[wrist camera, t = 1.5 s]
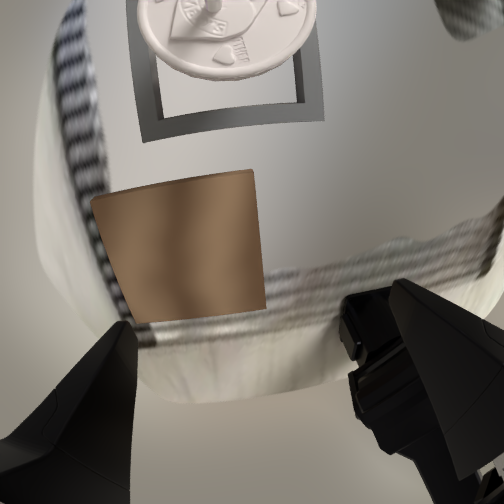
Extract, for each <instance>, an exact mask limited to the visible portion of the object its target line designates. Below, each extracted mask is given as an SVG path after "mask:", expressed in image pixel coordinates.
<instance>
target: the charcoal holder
mask: <svg viewBox="0 0 504 504" xmlns="http://www.w3.org/2000/svg"><path fill="white" fill-rule="evenodd" d="M137 6H138V0H126V12H127V27H128V39H129V51H130V61H131V69H132V77H133V85H134V93H135V100H136V106H137V113H138V118H139V125H140V131H141V136H142V142H143V143H146V142H150V141H155V140H159V139H165V138H170V137H175V136H180V135H185V134H192V133H198V132H204V131H211V130H218V129H224V128H233V127H242V126H251V125H262V124H272V123H287V122H307V121H324V103H323V88H322V75H321V64H320V54H319V44H318V36H317V28H316V20H315V22H314V25H313V28H312V30H311V32H310V34H309V36H308V38H307V39H306V41H305V42H304V43H303V45H302V46H301V47H300V48H299V49H298V50H297V51H296V53H294V54H293V62H294V72H295V84H296V96H297V103H279V104H263V105H252V106H242V107H234V108H225V109H217V110H210V111H203V112H198V113H191V114H185V115H180V116H174V117H170V118H164V115H163V108H162V102H161V94H160V87H159V79H158V72H157V63H156V54H155V53H154V52H153V51H152V49H151V48H150V47H149V46H148V44H147V43H146V42H145V40H144V38H143V36H142V34H141V31H140V29H139V25H138V19H137Z"/></svg>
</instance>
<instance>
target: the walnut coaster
mask: <svg viewBox="0 0 504 504" xmlns="http://www.w3.org/2000/svg"><path fill="white" fill-rule="evenodd" d="M90 204H91V207H92V210H93V213H94V217H95V220H96V223H97V226H98V229H99V232H100V235H101V238H102V241H103V244H104V246H105V249H106V252H107V255H108V257H109V260H110V263H111V265H112V268H113V270H114V273H115V276H116V278H117V281H118V283H119V285H120V288H121V290H122V293H123V295H124V297H125V300H126V302H127V304H128V306H129V309H130V311H131V313H132V315H133V317H134V320H135V322H136V324H137V323H150V322H161V321H172V320H182V319H191V318H200V317H209V316H217V315H225V314H233V313H241V312H248V311H255V310H262V309H266V298H265V287H264V275H263V265H262V253H261V243H260V233H259V221H258V211H257V201H256V190H255V181H254V172H253V170H252V169H247V170H239V171H231V172H224V173H216V174H210V175H204V176H197V177H190V178H184V179H179V180H173V181H167V182H162V183H156V184H151V185H146V186H141V187H137V188H131V189H127V190H123V191H118V192H113V193H109V194H104V195H100V196H96V197H94V198H93V199H92V200H91V201H90Z"/></svg>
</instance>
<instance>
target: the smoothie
mask: <svg viewBox="0 0 504 504" xmlns="http://www.w3.org/2000/svg"><path fill="white" fill-rule="evenodd" d="M315 17H316V0H138V6H137V19H138V25H139V29H140V31H141V34H142V36H143V38H144V40H145V42H146V43H147V44H148V46H149V47H150V48H151V49H152V51H153V52H154V53H155V54H156V55H157V57H159V58H160V59H161V60H162V61H164V62H165V63H166V64H168V65H169V66H171V67H172V68H173V69H175V70H177V71H180V72H182V73H184V74H187V75H189V76H191V77H195V78H201V79H206V80H212V81H237V80H242V79H246V78H250V77H255V76H259V75H261V74H264V73H266V72H268V71H270V70H272V69H274V68H276V67H278V66H280V65H281V64H282V63H284V62H285V61H286V60H287V59H288V58H290V57H291V56H292V55H293V54H294V53H296V51H297V50H298V49H299V48H300V47H301V46H302V45H303V43H304V42H305V41H306V39H307V38H308V36H309V34H310V32H311V30H312V28H313V25H314V22H315Z"/></svg>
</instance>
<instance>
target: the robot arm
mask: <svg viewBox="0 0 504 504" xmlns="http://www.w3.org/2000/svg"><path fill="white" fill-rule="evenodd" d="M349 300H350V301H349ZM339 334H340V340H341V342H343V343H344V346H345V348H346V350H347V353H348V355H349V357H350V359H351V360H352V361H357V364H358V366H359V368H358V369H356V370H355V371H351V372H350V373H348V378H349V386H350V391H351V396H352V401H353V407H354V411H355V416H356V418H357V419H359V420H361V421H362V423H363V424H364V425H365V426H366V427H367V428H368V429H371V430H372V431H373V433H374V436H375V438H376V440H377V442H378V445H379V447H380V449H381V450H383V451H384V452H386V453H387V454H389V455H392V454H394V453H398V454H400V455H402V456H404V457H406V458H408V459H410V460H412V461H413V462H414V463H415V465H416V467H417V469H418V471H419V473H420V475H421V477H422V479H423V481H424V484H425V486H426V488H427V490H428V492H429V494H430V496H431V498H432V501H433V503H434V504H504V330H502V329H500V328H498V327H497V326H495V325H493V324H491V323H489V322H487V321H486V320H484V319H481V318H480V317H478V316H476V315H475V314H473V313H471V312H469V311H467V310H465V309H463V308H462V307H460V306H458V305H456V304H454V303H452V302H450V301H448V300H446V299H444V298H443V297H441V296H439V295H437V294H435V293H433V292H431V291H429V290H427V289H425V288H423V287H421V286H419V285H417V284H415V283H413V282H411V281H409V280H407V279H405V278H401V279H397V280H394V281H393V284H392V286H390V287H385V288H380V289H376V290H371V291H366V292H361V293H356V294H351V295H348V296H347V297H346V299H345V305H344V312H343V314H342V316H341V321H340V327H339ZM137 367H138V339H137V336H136V334H135V332H134V330H133V328H132V326H131V324H130V323H129V322H128V321H117V322H116V323H114V325H113V326H112V327H111V328H110V329H109V330H108V331H107V332H106V333H105V334H104V335H103V336H102V337H101V338H100V339H99V340H98V341H97V342H96V343H95V345H94V346H93V347H92V348H91V349H90V350H89V351H88V352H87V353H86V354H85V355H84V356H83V357H82V358H81V360H80V361H79V362H78V363H77V364H76V365H75V366H74V367H73V368H72V369H71V370H70V372H69V373H68V374H67V375H66V376H65V377H64V378H63V379H62V380H61V382H60V383H59V384H58V385H57V386H56V389H53V391H52V392H51V393H50V394H49V395H48V396H47V397H46V398H45V399H44V401H43V402H42V403H41V404H40V405H39V406H38V407H37V408H36V409H35V410H34V411H33V412H32V413H31V414H30V415H29V416H28V417H27V418H26V419H25V420H24V421H23V422H22V423H21V424H20V425H19V426H18V427H17V428H16V429H15V430H14V431H13V432H12V433H11V434H10V435H9V436H7V437H6V438H4V439H1V440H0V504H130V491H129V490H130V466H131V444H132V431H133V418H134V408H135V397H136V389H137ZM491 461H493V462H494V465H495V467H494V468H492V469H491V470H490V471H488V472H487V473H486V474H485V475H484V476H482V474H481V472H480V468H482V467H483V466H485V465H487V464H488V463H490V462H491Z"/></svg>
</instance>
